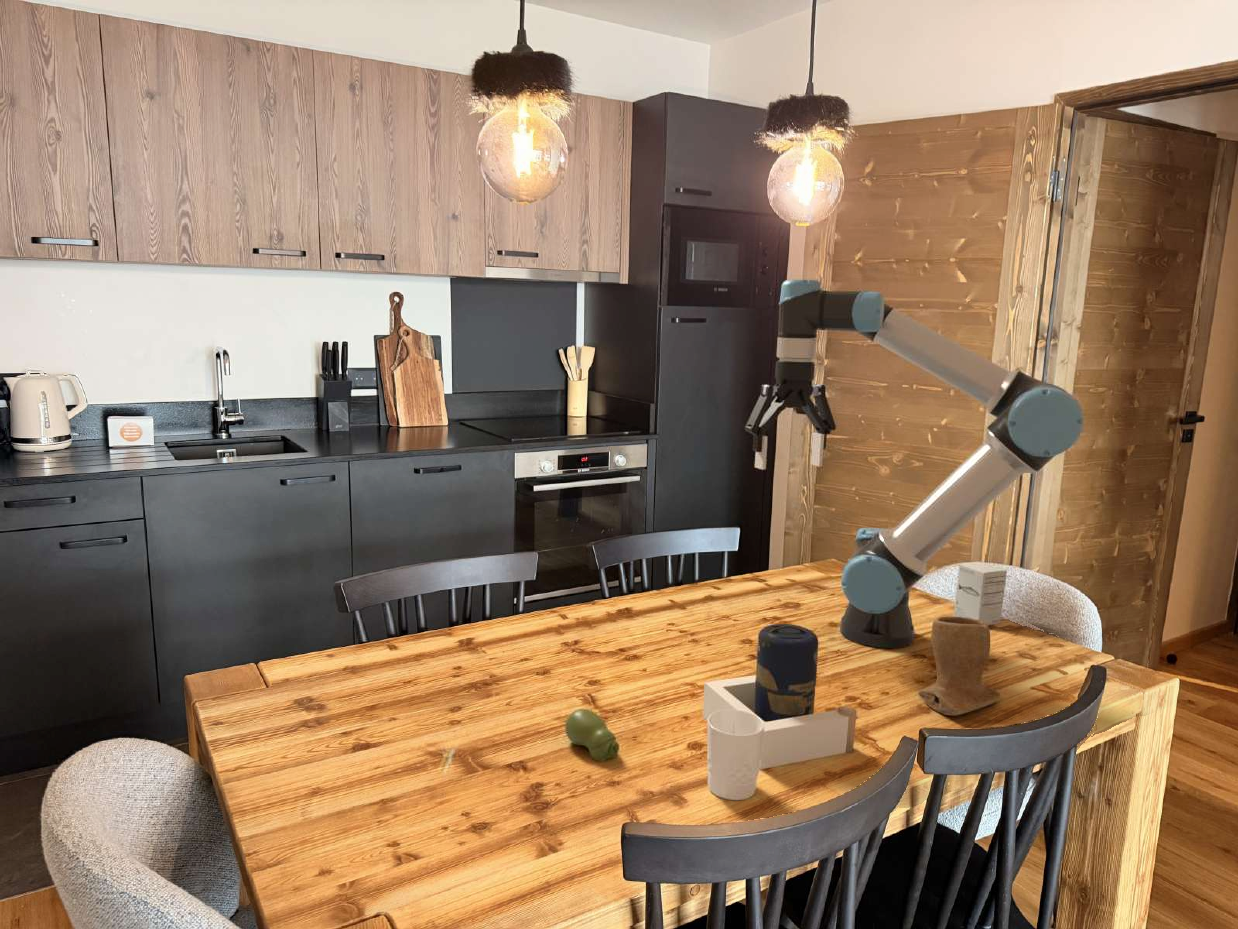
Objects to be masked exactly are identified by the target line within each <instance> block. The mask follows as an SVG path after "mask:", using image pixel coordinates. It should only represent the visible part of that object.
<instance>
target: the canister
mask: <svg viewBox="0 0 1238 929" xmlns="http://www.w3.org/2000/svg"><path fill="white" fill-rule="evenodd" d="M756 652H757V654H756V668H755V669H756V670H755V671H756V672H755V675H756V680H755V714H756V715H757V716H758V717H760V718H761V719H762V720H763V721H764V722H769V721H775V720H781V719H786V718H792V717H798V716H804V715H810V714H815V713H814V712H815V696H816V686H817V672H818V660H819V659H818V655H819V638H818V636H817V635H816V633H815V632H813V630H810V629H808V628H807V627H804V626H801V625H796V624H792V623H791V624H790V623H777V624H771V625H766V626H765V627H763V628H761V629H760V630H759V632H758V636H757V651H756Z"/></svg>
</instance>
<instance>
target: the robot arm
mask: <svg viewBox="0 0 1238 929" xmlns="http://www.w3.org/2000/svg"><path fill="white" fill-rule="evenodd" d="M780 290H781V291H780V298H779V302H778V325H777V326H778V327H777V328H778V329H777V330H778V332H777V333H778V334H777V341H776V342H777V344H776V345H777V346H776V358H777V359H778V358H779V360H777V361H776V362H775V375H774V377H775V381H776V382H775V386H774V385H772V384H765V383H764V384H762V385H761V387H760V393H759V394H760V395H759V397H758V400H757V401H756V403H755V406H754V407H753V410H752V412H751V413H750V416H749V419H747V422H746V425H745V426H744V430H745V432H748V433H750V434H751V435H752V436H753V440H752V443H753V444H752V452H755V455H754V456H755V457H754V468H756V469H759V470H762V471H763V470H766V469H767V455H768V454H767V451H768V436H767V435H765V434H766V433H767V431H768V430H769V429H770V428H771V426H772V424H774V422H775V421H776V420H777V418H778V416H779V415H780V414H781V413H782V412H783V411H785V410H786V408H788V409H793V408H797V409H798V408H799V409H802V410H803V412H804V413H805V415H806V417H807V418H808V419H809V421H810V423H811V425H812V426H813V428H814V429H815V431H816V432H813V433H812V438H811V440H812V441H811V442H812V443H811V454H810V455H811V458H810V465H813V466H815V467H823V459H824V458H823V457H824V450H826V448H827V438H828V437H827V436H828V435H830V434H831V433H832V431H835V430H836V429H837V425H836V423H835V419H834V417H833V413H832V410H831V407H830V404H829V401H828V399H827V395H826V394H827V393H826V391H827V390H826V386H825V385H824V384H819V383H815V384H813V380H814V379H815V370H816V368H815V366H816V363H815V362H814V361H813V360H815V359H816V356H817V355H816V354H817V338H818V337H817V336H818V335H817V334H818V331H834V332H835V331H836V332H837V331H839V332H856V333H858V334H859V335H861V336H862V337H865V338H866V339H868V340H870V341H872V342H874V343H876V344H878V345H879V346H882V347H883V348H885V349H887V350H888V351H890V352H892V353H893V354H895V355H897V356H899V357H901V358H902V359H904V360H905V361H908V362H909V363H911V364H913V365H915V366H916V367H917V368H920V369H922V370H923V371H926V372H927V373H929V374H930V375H932V376H933V377H936V378H937V379H939V380H941V381H943V382H944V383H947V384H948V385H949V386H952V387H953V388H955V389H957V390H958V391H960V392H962V393H964V394H966V396H968V397H970V398H972V399H974V400H977V401H978V402H980V403H982V404H983V405H985V406H986V410H987V413H989V414H990V415H992V416H994V417H995V419H994V420H993V421H992V422H991V423H990V424H989V425H988V426H987V427H986V428H985V433H986V434H985V441H983V442H982V444H981V445H980V446H978V447H977V448H976V450H974V452H972V453H971V454H970V455H969V456H968V457H967V458H965V459H964V461H962V463H961V464H960V465H958V467H956V468H955V470H953V471H952V472H951V473H950V474H949V475H948V476H947V477H946V478H945V479H944V480H943V481H942V482H941V483H939V485H938V486H937V487H936V488H935V489H934V490H933V491H932V492H931V493H929V494H928V495H927V496H926V497H925V498H924V499H923V500H922V501H921V502H920V503H919V504H918V505H917V506H916V507H915V508H914V509H913V510H912V511H911V512H910V513H908V515H906V517H904V518H903V519H902V520H901V521H900V522H899V523H898V524H897V525H896V526H895V527H894V528H893V529H890V528H889V529H888V528H878V527H861V528H859V529H858V530H857V533H856V537H855V539H854V540H855V541H854V542H855V549H854V553H853V554H852V556H851V557H850V558H849V560H848V561H847V562H846V563H845V565H844V568H843V569H842V573H841V579H840V580H841V588H842V591H843V594H844V596H845V598H846V599H847V601H848V604H847V606H846V609H845V611H844V614H843V615H842V616H841V620H840V623H839V624H840V626H839V632H840V634H841V635H842V636H843V637H844V638H846V639H848V640H850V641H852V642H854V643H856V644H857V643H858V644H860V645H863V646H868V647H874V648H881V649H882V648H883V649H885V648H886V649H897V648H903V647H907V646H910V645H912V644H913V642H914V639H915V628H914V625H913V618H912V614H911V610H910V605H909V599H910V592H911V591H910V589H911V588H912V587H914V585H916V584H917V582H918V581H920V579H922V578H923V577H924V576H925V575H926V574H927V562H928V561H929V560H930V559H931V558H932V557H934V556H935V555H936V554H937V553H938V552H939V551H940V550H941V549H942V548H944V547H945V546H946V544H948V543H949V541H951V540H952V539H953V538H954V537H955V536H956V535H957V534H958V533H960V532H961V531H962V530H963V529H964V528H965V527H966V526H968V524H969V523H971V521H973V519H975V518H976V517H978V515H979V514H980V513H981V512H982V511H983V510H985V509H986V508H987V507H988V506H989V505H990V504H992V502H993V501H994V500H996V499H997V498H998V497H999V496H1000V495H1001V494H1003V492H1004V491H1006V489H1007V488H1009V487H1010V486H1011V485H1012V484H1013V483H1014V482H1015V481H1016V480H1018V479H1019V478H1020V477H1021V476H1022V475H1023V474H1036V473H1038V472H1039V471H1040V470H1041V469H1042V468H1044V467H1045V466H1046V464H1048V463H1049V462H1050V461H1051V460H1053V458H1055V457H1056V456H1057V455H1060V454H1063V453H1064V452H1065V451H1069V449H1070V448H1072V446H1074V444H1076V442H1078V439H1080V436H1081V433H1082V430H1083V428H1084V413H1083V410H1082V406H1081V405H1080V403H1079V401H1078V400H1077V399H1076V398H1075V397H1074V396H1073V394H1071V393H1069V392H1068V391H1067V390H1065V389H1064V388H1062V387H1059V385H1055V384H1052V383H1048V382H1045V381H1044V380H1043V381H1042V380H1039V379H1038V378H1035V377H1032V376H1031V375H1028V374H1026V373H1024V372H1022V371H1020V370H1019V369H1013V370H1007V369H1005V368H1004V367H1002V366H999V365H998V364H996V363H995V362H993V361H991V360H989V359H987V358H985V357H984V356H981V355H980V354H978V353H976V352H974V351H973V350H970V349H969V348H967V347H965V346H963V345H961V344H959V343H958V342H956V341H954V340H953V339H950V338H948V337H947V336H945V335H943V334H941V333H940V332H938V331H936V330H934V329H932V328H931V327H928V326H926V325H925V324H923V323H921V322H919V321H918V320H916V319H914V318H912V317H910V316H909V315H906V314H905V313H903V312H901V311H899V310H898V309H896V308H893V307H891V306H890V305H888V304H887V303H885V297H884V295H883V293H882V292H879V291H869V290H862V291H861V290H852V291H851V290H839V291H838V290H830V291H829V290H824V289H822V287H821V283H820V281H819V280H817V279H797V278H795V279H786V280H784V281H783V282H782V284H781V288H780ZM812 395H813V399H814V402H815V404H814V402H813V400H812V398H811V396H812ZM774 396H775V398H774V399H773V397H774ZM769 406H770V407H769ZM815 406H816V408H815Z"/></svg>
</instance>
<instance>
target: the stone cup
mask: <svg viewBox="0 0 1238 929" xmlns="http://www.w3.org/2000/svg"><path fill="white" fill-rule="evenodd" d="M930 642H931V646H932V647H931V648H932V652H933V656H934V659H935V660H934V662H935V667H936V673H937V675H936V681H935V682H934V683H933V684H930V685H929V686H927V687H924V688H923V689H920V690H918V692H917V694H918V695H919V697H921V699H922V700H923V702H925V703H926V704H927V705H928V706H929V707H930V708H931V709H932V710H934V711H935V712H937V713H939V714H942V715H945V716H953V717H955V716H960V715H964V714H966V713H970V712H973V711H976V710H979V709H982V708H985V707H988V706H990V705H992V704H994V703H996V702H999V701H1000V700H1001V698H1002V694H1001V693H999V691H996V690H994V689H993V688H991V687H988V686H987V685H984V684H983V680H982V679H983V674H984V671H985V668H986V665H987V662H988V660H989V657H990V651H991V630H990V627H989V625H987V624H986V623H985V622H983V621H980V620H974V619H971V618H964V617H954V616H940V617H936V618H935V619H934V620H933V622H932V625H931V634H930Z"/></svg>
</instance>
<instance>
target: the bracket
mask: <svg viewBox="0 0 1238 929" xmlns="http://www.w3.org/2000/svg"><path fill="white" fill-rule="evenodd" d="M755 680H756V674H754V675H746V676H739V677H734V678H733V677H732V678H726V679H725V678H724V679H718V680H712V681H707V682H704V686H703V699H702V700H703V701H702V702H703V703H702V704H703V706H702V717H703V718H704V719H705V720H706V721H707V722H708V717H709V716H710V715H711V714H712V713H714V712H716V711H720V710H741V711H746V712H749V713H752V714H754V715H756V714H755ZM756 716H757V715H756ZM759 718H760V717H759ZM760 719H761V718H760ZM762 721H763V720H762ZM763 722H764V721H763ZM856 722H857V709H856V708H854V707H852V706H848V705H841V706H838V708H837V709H834V710H828V711H824V712H823V711H822V712H817V713H814V714H810V715H804V716H798V717H792V718H786V719H781V720H775V721H769V722H764V734H763V742H762V751H761V758H760V765H759V770H764V769H769V768H774V767H779V766H785V765H791V764H795V763H796V764H797V763H800V762H805V761H810V760H811V761H812V760H816V759H821V758H826V757H832V756H836V755H842V754H849V753H850V754H851V753H852V752H853V751H854V744H855V743H854V742H855V732H856V725H857V724H856Z"/></svg>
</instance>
